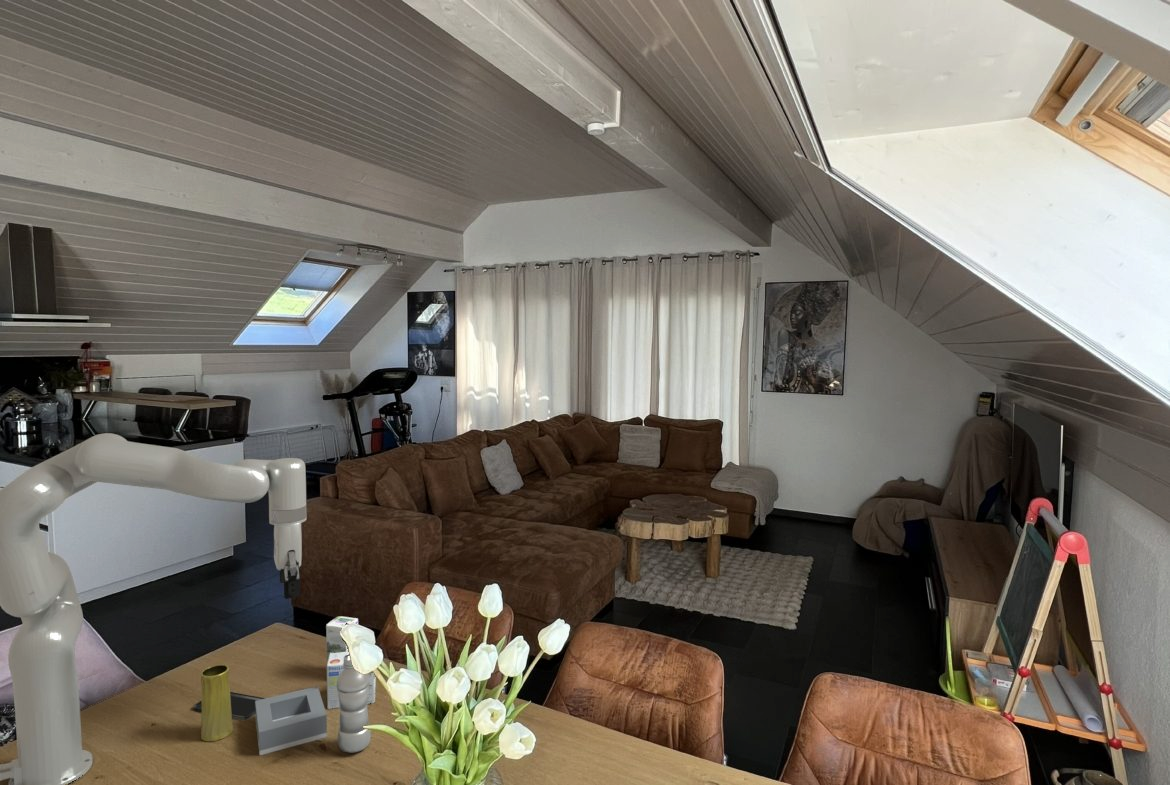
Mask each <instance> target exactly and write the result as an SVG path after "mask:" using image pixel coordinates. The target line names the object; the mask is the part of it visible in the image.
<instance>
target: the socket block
mask: <svg viewBox="0 0 1170 785" xmlns="http://www.w3.org/2000/svg"><path fill="white" fill-rule="evenodd" d="M264 698H265V699H261V700H257V701H255V713H256V714H255V726H256V727H255V728H256V734H257V745H258V751H259V756H263V755H268V754H270V753H273V752H278V751H281V750H284V749H288V748H291V747H295V746H299V745H303V744H307V743H310V742H314V741H317V740H321V739H325V738H327V737H328V729H327V728H328V727H327V726H328V722H327V720H328V719H327V718H328V717H327V716H328V715H327V712H326V708H325V704H324V702H323V699H322V696H321V692H320V689H319V685H317V686H312V687H308V688H304V689H300V690H295V691H291V692H286V693H283V694H278V695H274V696H270V697H264Z"/></svg>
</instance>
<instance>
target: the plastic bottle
mask: <svg viewBox="0 0 1170 785" xmlns="http://www.w3.org/2000/svg"><path fill="white" fill-rule="evenodd" d="M343 667H344V669H343V671H342V672H341V673H340V675H339V677H338V679H337V682H336V685H337V692H338V697H339V705H340V708H339V727H338V731H337V739H336V740H337V744H338V747H339V748H340V749H341V751H342V752H344V753H346V754H349V753H350V754H352V753H358V752H361V751H363V750H364V749H365V748H367V746H368V745H369V744H370V742H371V737H372V730H368V729H364V728H363V726H366V725H370V720H369V713H368V711H369V710H368V705H369V704H367V703H368V690H369V682H370V678H369V675H368V674H361V673H359V672H357V671H356V670H355V669H354V667H353V665H352V662H351V658H350V654H347V655H345V656H344V663H343ZM370 726H371V725H370Z"/></svg>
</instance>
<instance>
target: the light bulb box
mask: <svg viewBox="0 0 1170 785" xmlns="http://www.w3.org/2000/svg"><path fill="white" fill-rule="evenodd" d="M347 654H349V652H348V651H347V652H338V653H330V655H329V658H328V662H327V661H326V692H327V693H326V698H327V699H326V700H327V702H326V703H327V706H326V707H327V710H331V709H332V708H333V709H340V705H339V697H338V692H337V685H336V682H337V679H338V677H339V675H340V673H341V672H342V671H343V669H344V667H343V663H344V656H345V655H347ZM368 675H369V678H370V682H369V690H368V703H367V704H368V705H369V704H370V703H371V704H374V702H376V694H375V693H376V692H377V676H376V677H375V675H374V673H369V674H368ZM371 704H370V705H371Z"/></svg>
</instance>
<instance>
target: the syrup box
mask: <svg viewBox="0 0 1170 785" xmlns="http://www.w3.org/2000/svg"><path fill="white" fill-rule="evenodd" d="M348 621H351V622H354V623H356V624H358V625H359V618H358V617H357V618H356V617H349V616H341V615H339V616H336V617H334V618H333V619H332V620H330V621H329V622H328V623H326V626H325V629H326V634H325V635H326V637H325V638H326V663H327V662H328V658H329V655H330V653H338V652H347V651H348V649H347V646H346V644H345V642H344V641H343V640H342V638H341V635H340V630H341V628H342V627H343V626H344V625H345V624H346V623H347V622H348Z"/></svg>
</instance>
